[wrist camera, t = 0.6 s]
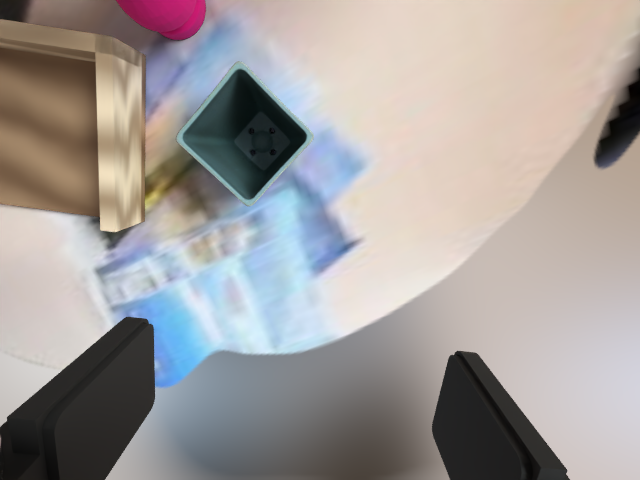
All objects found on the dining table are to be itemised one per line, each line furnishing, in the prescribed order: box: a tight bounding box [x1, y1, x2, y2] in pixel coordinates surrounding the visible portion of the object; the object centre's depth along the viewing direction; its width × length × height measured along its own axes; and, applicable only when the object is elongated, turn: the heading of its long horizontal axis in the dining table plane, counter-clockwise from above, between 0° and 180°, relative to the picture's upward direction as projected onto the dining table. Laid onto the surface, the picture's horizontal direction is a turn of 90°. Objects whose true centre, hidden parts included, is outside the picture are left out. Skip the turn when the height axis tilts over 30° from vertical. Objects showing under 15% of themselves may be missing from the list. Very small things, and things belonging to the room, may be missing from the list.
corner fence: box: [0, 19, 142, 232], centre depth 33 cm, size 18×18×5 cm
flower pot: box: [176, 61, 314, 206], centre depth 33 cm, size 9×9×9 cm
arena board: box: [0, 48, 146, 222], centre depth 36 cm, size 18×18×1 cm
